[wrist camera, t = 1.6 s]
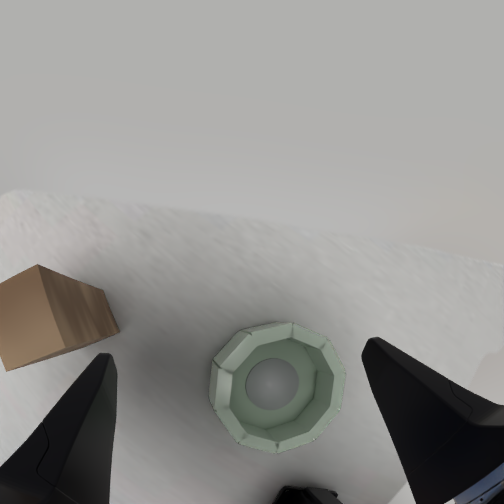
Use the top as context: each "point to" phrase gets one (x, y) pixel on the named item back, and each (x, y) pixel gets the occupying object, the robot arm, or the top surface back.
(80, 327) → the layered tan brick
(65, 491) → the robot arm
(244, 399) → the pale green faceted bowl
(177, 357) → the top surface
